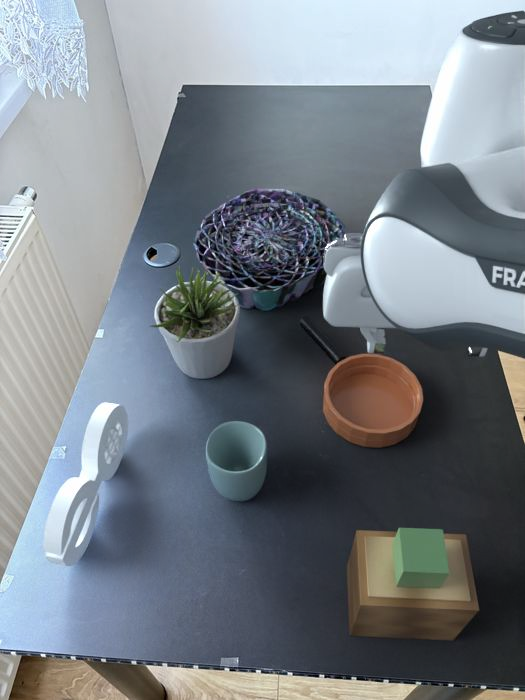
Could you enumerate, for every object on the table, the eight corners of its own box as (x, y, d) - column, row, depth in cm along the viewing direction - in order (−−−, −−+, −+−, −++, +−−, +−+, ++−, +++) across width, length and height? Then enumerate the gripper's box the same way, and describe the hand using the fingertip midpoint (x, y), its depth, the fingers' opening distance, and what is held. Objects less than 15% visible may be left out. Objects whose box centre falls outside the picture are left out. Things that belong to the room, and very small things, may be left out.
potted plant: (143, 369, 96) (119, 278, 80) (200, 318, 103) (187, 226, 87) (203, 408, 91) (189, 319, 75) (258, 352, 98) (255, 260, 82)
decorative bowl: (367, 272, 112) (376, 228, 105) (270, 349, 98) (273, 304, 90) (265, 216, 123) (268, 173, 116) (165, 277, 109) (160, 232, 102)
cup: (219, 454, 86) (214, 415, 78) (272, 463, 85) (272, 425, 77) (204, 503, 81) (198, 467, 73) (261, 514, 80) (260, 479, 72)
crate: (442, 571, 75) (466, 532, 65) (452, 640, 69) (480, 609, 60) (346, 567, 75) (356, 528, 66) (349, 635, 70) (361, 603, 61)
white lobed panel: (118, 428, 89) (103, 388, 81) (132, 430, 88) (119, 390, 81) (59, 574, 75) (34, 543, 67) (75, 577, 75) (52, 546, 67)
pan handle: (345, 362, 93) (347, 354, 91) (335, 368, 92) (336, 360, 91) (308, 322, 98) (309, 314, 97) (298, 327, 98) (299, 319, 96)
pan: (437, 420, 89) (443, 403, 85) (361, 466, 84) (365, 450, 81) (376, 358, 97) (380, 340, 93) (304, 397, 92) (305, 379, 88)
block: (433, 546, 64) (443, 529, 61) (439, 588, 62) (449, 573, 58) (392, 544, 65) (398, 527, 61) (395, 586, 62) (403, 571, 58)
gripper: (326, 260, 45) (315, 372, 56) (604, 267, 44) (539, 379, 55) (325, 208, 49) (315, 322, 60) (579, 214, 48) (523, 328, 59)
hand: (424, 349), depth 57 cm, fingers open, 8 cm apart
